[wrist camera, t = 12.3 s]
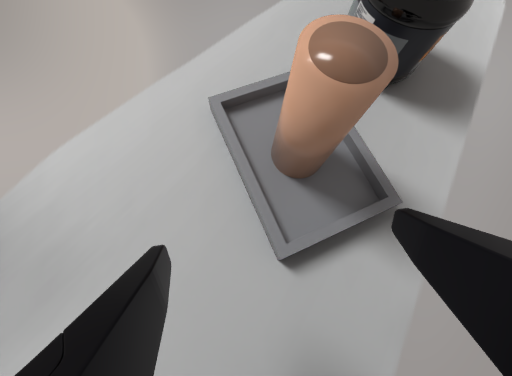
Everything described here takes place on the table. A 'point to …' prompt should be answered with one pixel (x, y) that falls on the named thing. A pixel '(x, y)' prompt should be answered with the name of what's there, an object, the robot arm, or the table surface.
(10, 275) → the table surface
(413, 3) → the supplement container
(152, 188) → the table surface
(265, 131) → the charcoal tray
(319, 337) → the table surface
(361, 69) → the terracotta cup
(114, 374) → the robot arm
